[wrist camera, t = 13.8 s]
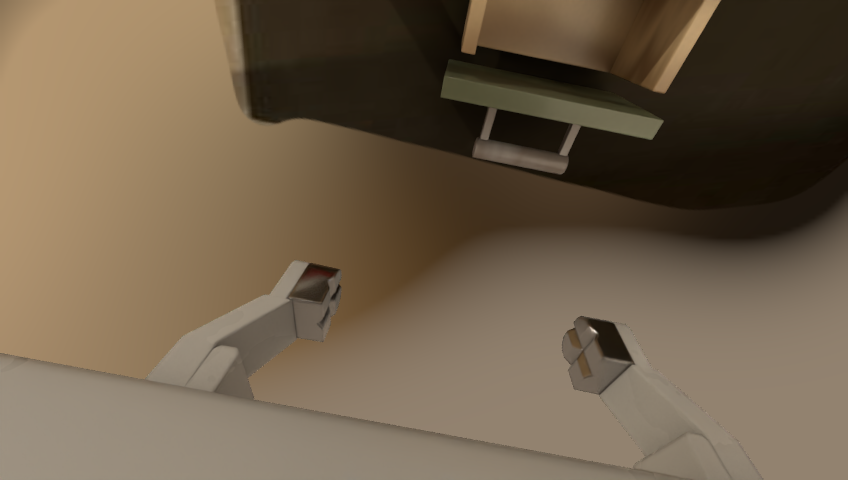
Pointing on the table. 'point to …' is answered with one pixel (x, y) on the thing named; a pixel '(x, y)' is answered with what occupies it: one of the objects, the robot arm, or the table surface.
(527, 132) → the table surface
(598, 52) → the drawer
